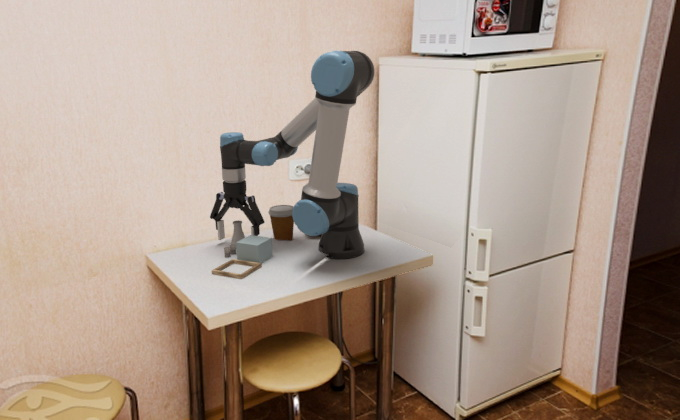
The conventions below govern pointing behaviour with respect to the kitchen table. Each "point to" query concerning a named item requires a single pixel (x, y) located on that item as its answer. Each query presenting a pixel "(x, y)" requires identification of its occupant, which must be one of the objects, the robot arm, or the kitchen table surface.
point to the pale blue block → (254, 249)
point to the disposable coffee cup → (282, 222)
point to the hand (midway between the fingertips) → (238, 241)
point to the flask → (237, 232)
